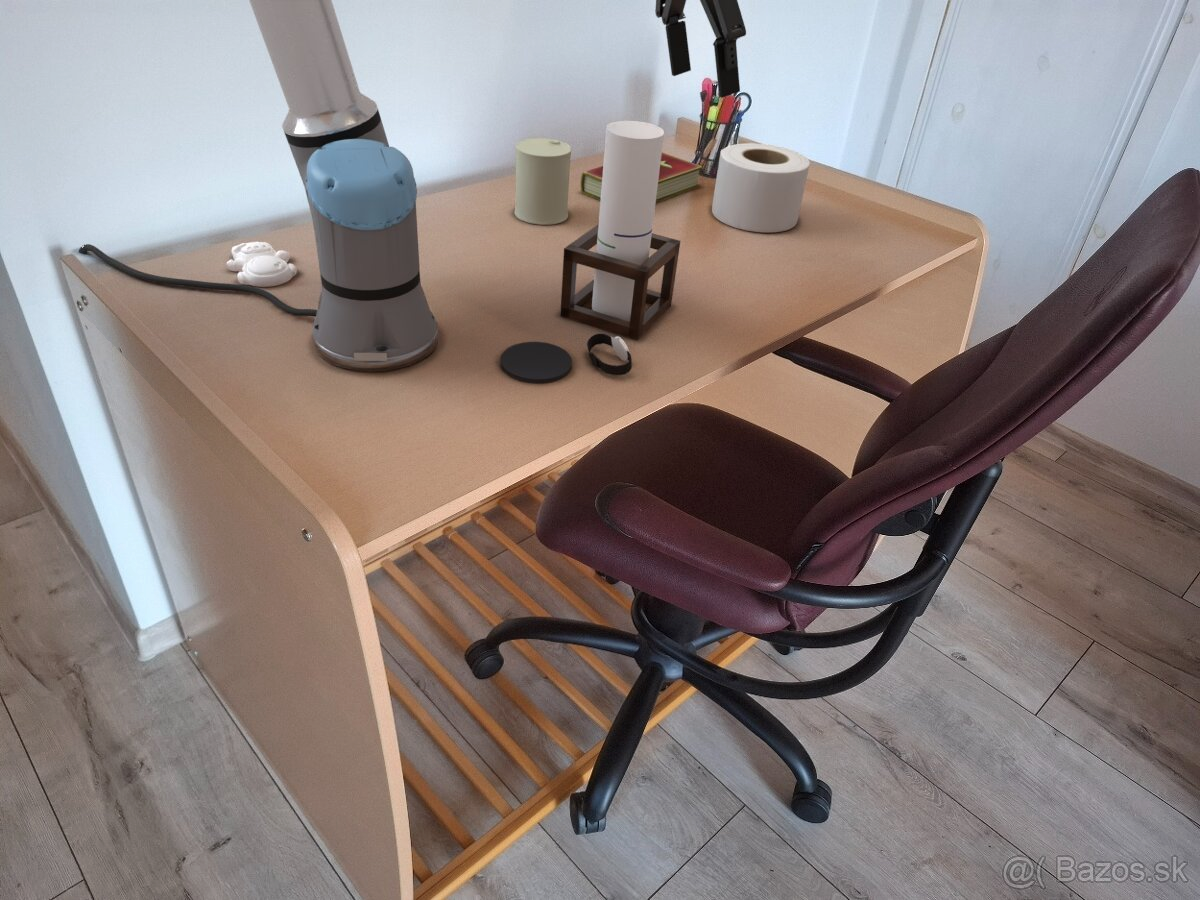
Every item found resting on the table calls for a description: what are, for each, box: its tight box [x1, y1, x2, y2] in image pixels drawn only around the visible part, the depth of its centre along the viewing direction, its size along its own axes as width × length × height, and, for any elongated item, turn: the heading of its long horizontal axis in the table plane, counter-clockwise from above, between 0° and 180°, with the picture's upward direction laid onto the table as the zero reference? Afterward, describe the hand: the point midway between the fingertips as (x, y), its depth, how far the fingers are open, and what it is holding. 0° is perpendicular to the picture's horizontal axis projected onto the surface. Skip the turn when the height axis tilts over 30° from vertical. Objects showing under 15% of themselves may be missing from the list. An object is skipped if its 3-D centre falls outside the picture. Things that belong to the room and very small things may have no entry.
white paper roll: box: [711, 142, 811, 234], centre depth 147 cm, size 16×15×11 cm
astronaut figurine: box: [226, 241, 298, 288], centre depth 118 cm, size 9×12×3 cm
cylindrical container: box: [591, 120, 665, 322], centre depth 110 cm, size 7×7×25 cm
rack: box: [559, 223, 681, 341], centre depth 115 cm, size 12×12×10 cm
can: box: [514, 137, 573, 226], centre depth 140 cm, size 9×9×12 cm
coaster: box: [499, 341, 573, 384], centre depth 105 cm, size 9×9×1 cm
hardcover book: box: [580, 151, 704, 204], centre depth 155 cm, size 12×21×4 cm, turn 138°
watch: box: [586, 332, 633, 376], centre depth 105 cm, size 8×5×4 cm, turn 33°
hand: (704, 83), depth 114 cm, fingers open, 13 cm apart
